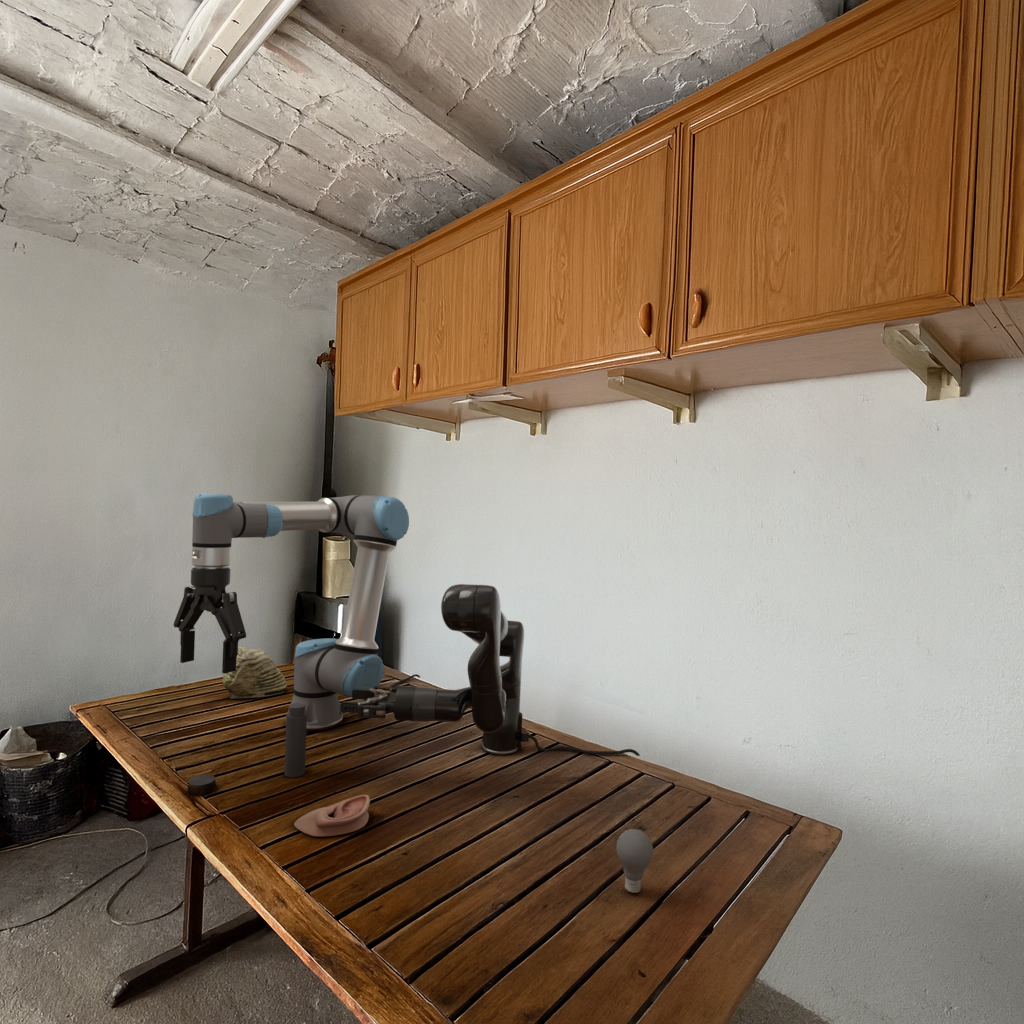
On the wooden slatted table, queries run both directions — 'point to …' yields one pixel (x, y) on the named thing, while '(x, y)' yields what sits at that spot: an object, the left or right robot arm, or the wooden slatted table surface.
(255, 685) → the fossil
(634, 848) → the light bulb
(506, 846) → the wooden slatted table surface
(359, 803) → the anatomical model
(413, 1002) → the wooden slatted table surface
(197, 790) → the lid
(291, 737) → the dark grey cylinder
